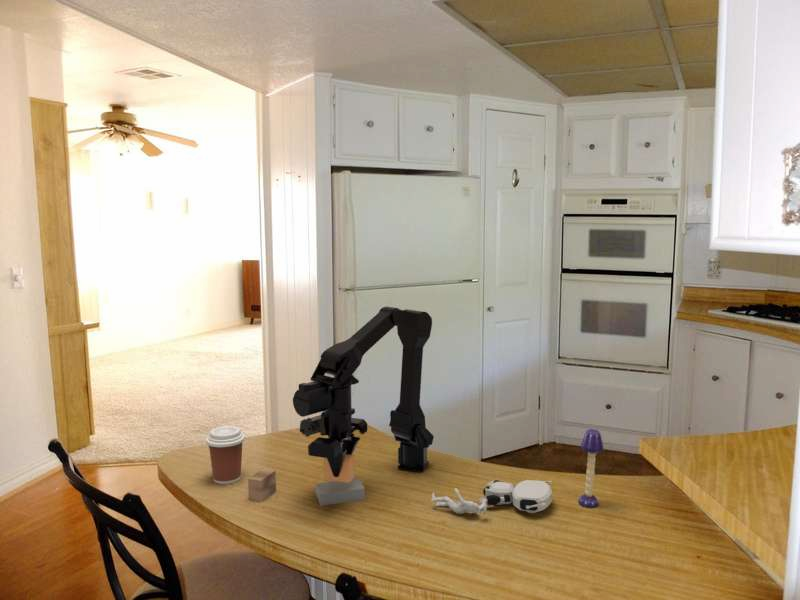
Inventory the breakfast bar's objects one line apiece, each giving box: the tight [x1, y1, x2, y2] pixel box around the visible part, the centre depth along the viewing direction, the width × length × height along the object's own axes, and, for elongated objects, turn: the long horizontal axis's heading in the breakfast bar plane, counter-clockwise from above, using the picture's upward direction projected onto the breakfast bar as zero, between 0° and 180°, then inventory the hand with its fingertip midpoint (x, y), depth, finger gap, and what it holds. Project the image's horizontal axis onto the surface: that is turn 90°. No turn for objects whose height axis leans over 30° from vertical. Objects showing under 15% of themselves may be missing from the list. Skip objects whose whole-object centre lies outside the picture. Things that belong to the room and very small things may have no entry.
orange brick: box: [323, 454, 356, 483], centre depth 141 cm, size 6×3×5 cm, turn 70°
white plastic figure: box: [431, 487, 488, 516], centre depth 134 cm, size 8×5×12 cm
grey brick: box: [314, 477, 366, 507], centre depth 142 cm, size 10×6×3 cm, turn 108°
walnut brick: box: [247, 468, 277, 503], centre depth 143 cm, size 6×3×5 cm, turn 160°
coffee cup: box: [205, 425, 246, 485], centre depth 152 cm, size 9×9×12 cm
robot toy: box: [478, 479, 554, 514], centre depth 138 cm, size 12×4×15 cm
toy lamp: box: [578, 428, 604, 509], centre depth 137 cm, size 5×5×17 cm
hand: (339, 473), depth 142 cm, fingers closed on orange brick, 3 cm apart
